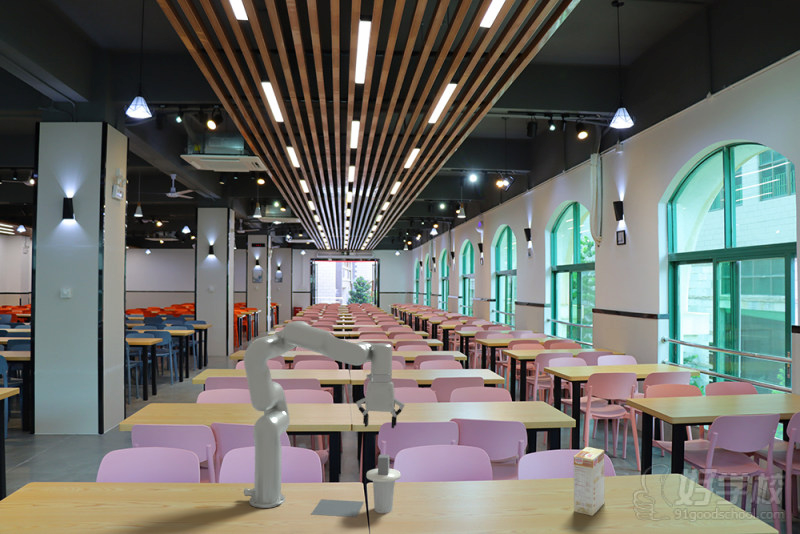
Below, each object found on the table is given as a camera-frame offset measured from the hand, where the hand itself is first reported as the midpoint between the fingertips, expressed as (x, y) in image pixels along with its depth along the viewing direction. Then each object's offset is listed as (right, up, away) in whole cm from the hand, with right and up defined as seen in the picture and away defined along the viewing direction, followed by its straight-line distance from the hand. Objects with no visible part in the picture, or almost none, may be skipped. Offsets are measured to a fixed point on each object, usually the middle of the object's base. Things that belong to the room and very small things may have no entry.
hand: (379, 426), depth 204 cm
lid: (+1, -17, -2) cm, 17 cm away
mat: (-15, -29, -2) cm, 32 cm away
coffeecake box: (+76, -30, +2) cm, 81 cm away
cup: (+1, -29, -3) cm, 29 cm away
